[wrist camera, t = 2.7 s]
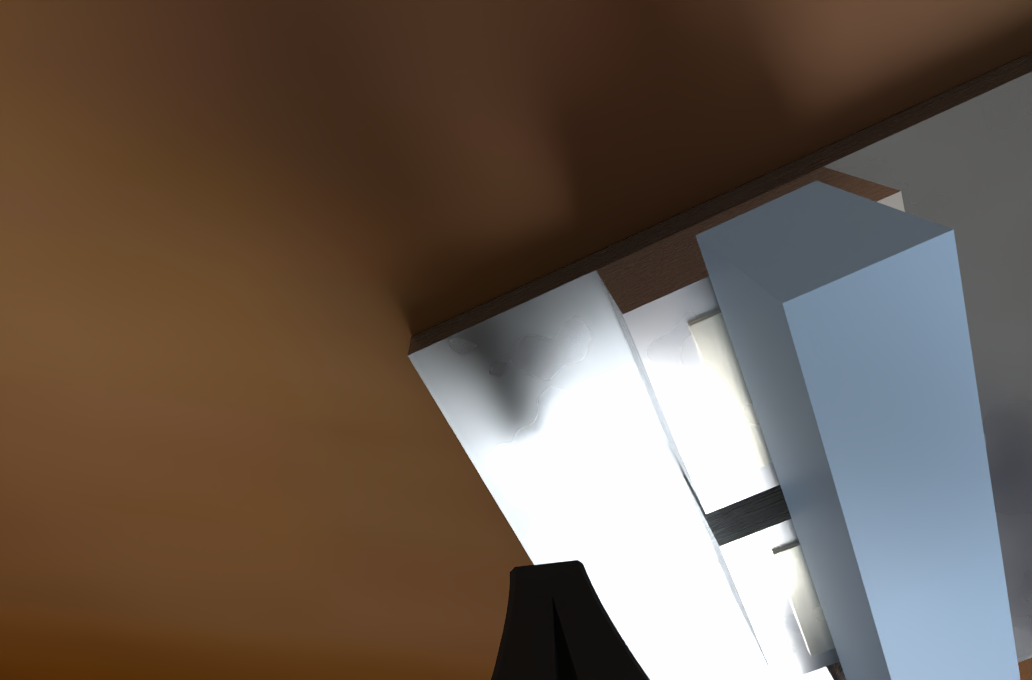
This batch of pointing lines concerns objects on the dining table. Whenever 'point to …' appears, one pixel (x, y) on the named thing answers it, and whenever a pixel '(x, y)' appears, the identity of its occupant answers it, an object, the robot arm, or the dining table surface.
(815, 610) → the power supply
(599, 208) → the dining table surface
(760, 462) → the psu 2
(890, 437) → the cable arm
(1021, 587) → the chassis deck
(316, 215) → the dining table surface
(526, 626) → the robot arm
